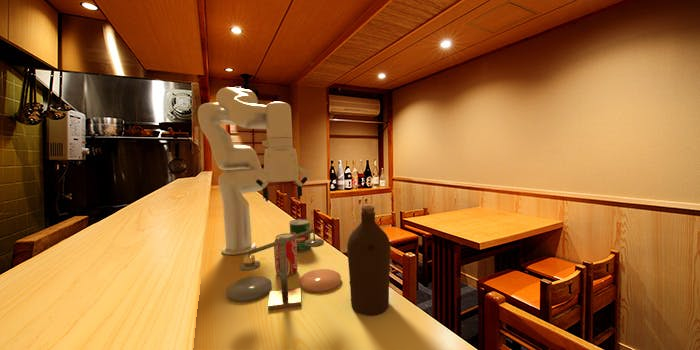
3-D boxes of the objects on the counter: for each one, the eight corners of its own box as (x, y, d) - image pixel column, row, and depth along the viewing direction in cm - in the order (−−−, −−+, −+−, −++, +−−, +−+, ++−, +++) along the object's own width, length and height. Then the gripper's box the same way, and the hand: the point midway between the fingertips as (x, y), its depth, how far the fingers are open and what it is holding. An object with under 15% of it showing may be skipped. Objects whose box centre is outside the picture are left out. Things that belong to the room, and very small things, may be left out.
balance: (244, 299, 75) (239, 230, 73) (324, 289, 79) (322, 224, 77) (239, 314, 68) (234, 239, 66) (327, 302, 72) (324, 231, 70)
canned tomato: (307, 244, 116) (306, 218, 115) (314, 250, 109) (312, 222, 108) (288, 247, 112) (287, 220, 111) (294, 254, 105) (292, 225, 104)
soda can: (292, 278, 86) (290, 240, 85) (271, 276, 88) (269, 239, 86) (301, 268, 93) (299, 233, 92) (281, 267, 94) (279, 232, 93)
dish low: (231, 282, 84) (231, 279, 84) (273, 278, 87) (273, 274, 86) (221, 304, 73) (221, 300, 72) (270, 298, 75) (269, 294, 75)
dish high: (299, 275, 88) (299, 271, 88) (337, 270, 90) (337, 267, 90) (300, 294, 76) (300, 290, 76) (344, 289, 79) (343, 285, 79)
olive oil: (400, 307, 69) (399, 207, 67) (365, 323, 63) (363, 214, 61) (373, 289, 78) (371, 201, 75) (340, 302, 72) (337, 206, 70)
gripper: (248, 144, 81) (252, 203, 82) (309, 143, 84) (312, 199, 86) (252, 145, 88) (255, 199, 90) (308, 143, 91) (310, 195, 93)
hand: (283, 199), depth 88 cm, fingers open, 9 cm apart
